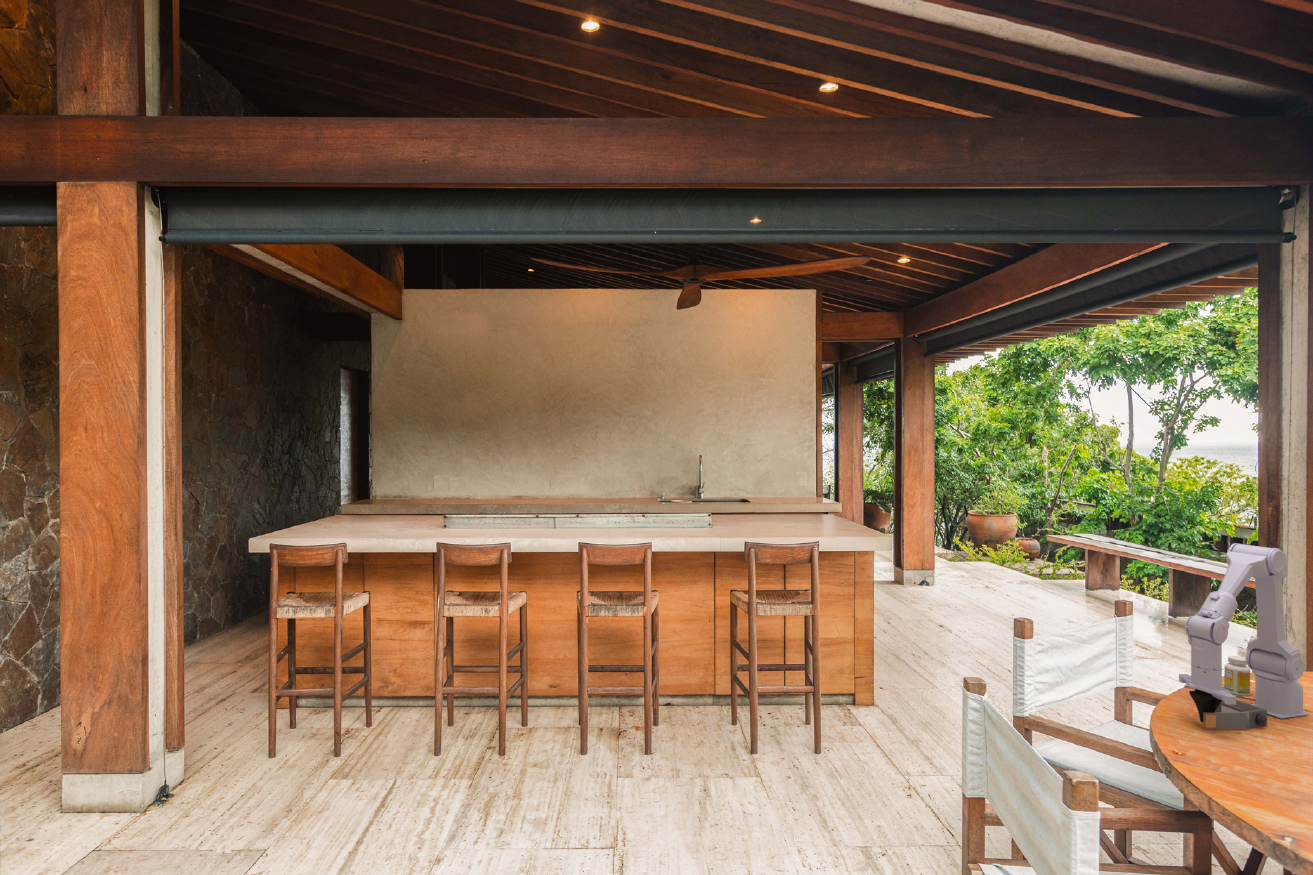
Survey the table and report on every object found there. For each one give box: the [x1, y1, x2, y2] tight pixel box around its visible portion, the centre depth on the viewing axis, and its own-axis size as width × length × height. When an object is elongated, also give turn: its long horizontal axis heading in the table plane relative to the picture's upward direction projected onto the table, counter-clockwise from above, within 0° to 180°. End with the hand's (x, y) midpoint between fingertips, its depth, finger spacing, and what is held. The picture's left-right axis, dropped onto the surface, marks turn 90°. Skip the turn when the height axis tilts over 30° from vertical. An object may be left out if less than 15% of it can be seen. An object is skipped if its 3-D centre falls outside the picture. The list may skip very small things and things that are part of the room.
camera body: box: [1215, 699, 1268, 730], centre depth 163 cm, size 6×8×4 cm
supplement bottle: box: [1223, 655, 1251, 697], centre depth 182 cm, size 5×5×10 cm
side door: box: [1202, 712, 1250, 730], centre depth 159 cm, size 1×11×4 cm, turn 92°
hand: (1206, 722), depth 160 cm, fingers closed
